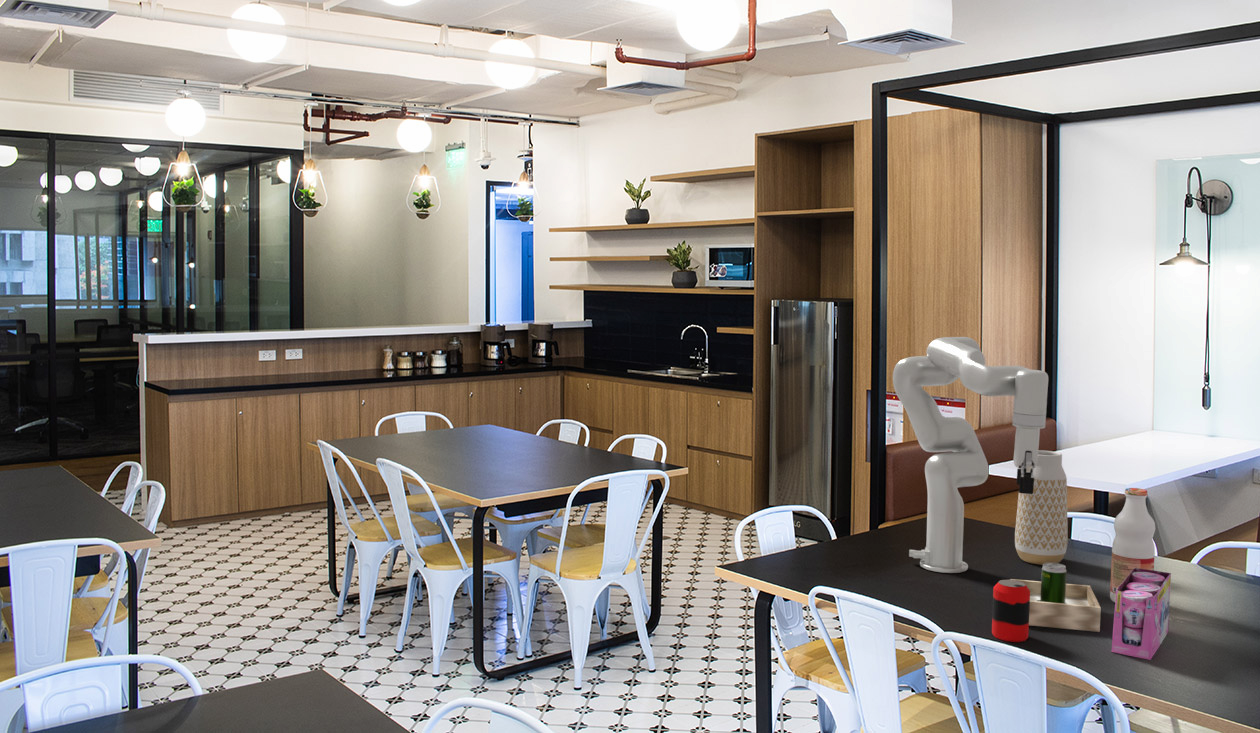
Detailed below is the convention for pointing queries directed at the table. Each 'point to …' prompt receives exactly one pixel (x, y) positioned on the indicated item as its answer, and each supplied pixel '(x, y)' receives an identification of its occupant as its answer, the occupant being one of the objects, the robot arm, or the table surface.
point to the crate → (1065, 608)
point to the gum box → (1141, 613)
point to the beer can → (1053, 583)
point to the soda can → (1011, 611)
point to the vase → (1043, 513)
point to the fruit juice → (1132, 539)
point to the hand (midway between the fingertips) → (1024, 489)
